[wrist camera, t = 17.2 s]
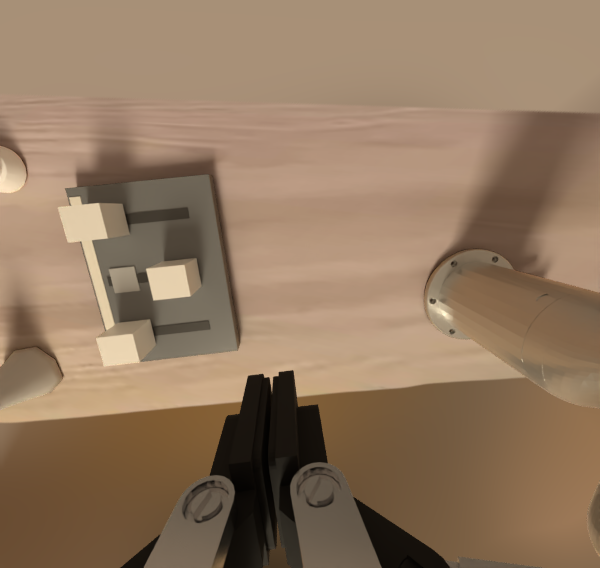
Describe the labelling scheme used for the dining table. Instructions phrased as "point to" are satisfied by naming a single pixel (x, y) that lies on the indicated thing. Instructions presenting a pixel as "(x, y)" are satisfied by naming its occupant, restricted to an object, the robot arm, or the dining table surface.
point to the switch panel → (157, 248)
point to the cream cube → (126, 342)
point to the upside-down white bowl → (11, 171)
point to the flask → (27, 376)
